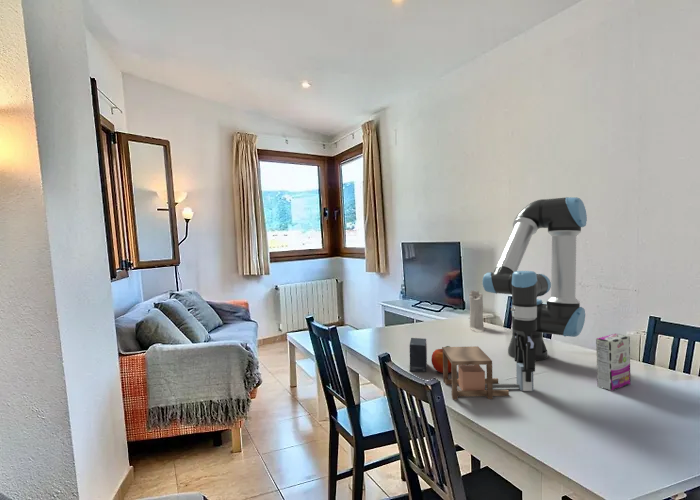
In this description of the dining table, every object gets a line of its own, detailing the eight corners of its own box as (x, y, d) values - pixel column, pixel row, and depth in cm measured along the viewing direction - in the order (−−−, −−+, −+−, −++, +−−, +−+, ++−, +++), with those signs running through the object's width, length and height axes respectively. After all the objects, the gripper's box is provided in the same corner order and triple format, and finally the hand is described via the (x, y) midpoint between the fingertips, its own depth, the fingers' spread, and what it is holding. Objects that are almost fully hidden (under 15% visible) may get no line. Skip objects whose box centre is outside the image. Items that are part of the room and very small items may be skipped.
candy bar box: (615, 380, 141) (615, 332, 140) (631, 384, 137) (631, 336, 136) (595, 386, 136) (595, 337, 135) (611, 391, 132) (611, 341, 131)
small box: (426, 372, 154) (426, 345, 154) (409, 371, 156) (408, 344, 155) (427, 363, 165) (426, 337, 164) (411, 363, 166) (410, 337, 166)
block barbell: (527, 384, 139) (526, 361, 139) (535, 392, 132) (535, 368, 132) (458, 385, 140) (458, 362, 140) (463, 393, 133) (463, 369, 133)
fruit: (440, 365, 162) (439, 340, 161) (462, 371, 155) (461, 344, 154) (426, 371, 155) (425, 345, 154) (448, 377, 148) (447, 350, 148)
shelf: (495, 380, 144) (494, 346, 144) (511, 398, 128) (510, 360, 128) (443, 381, 145) (442, 347, 144) (453, 399, 129) (452, 361, 128)
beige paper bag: (472, 332, 212) (471, 293, 211) (469, 325, 226) (468, 289, 225) (486, 332, 211) (486, 293, 210) (482, 326, 225) (482, 289, 224)
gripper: (504, 313, 144) (504, 378, 145) (522, 323, 127) (522, 398, 128) (526, 312, 143) (526, 378, 144) (547, 323, 126) (547, 398, 127)
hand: (524, 387), depth 136 cm, fingers closed on block barbell, 4 cm apart
